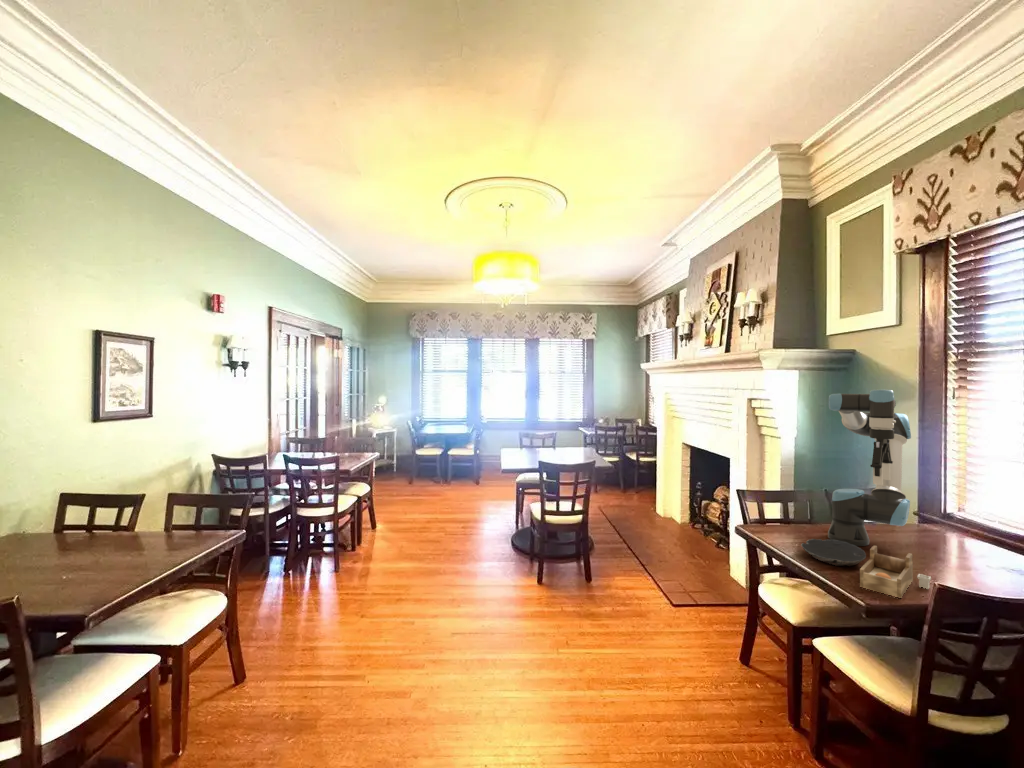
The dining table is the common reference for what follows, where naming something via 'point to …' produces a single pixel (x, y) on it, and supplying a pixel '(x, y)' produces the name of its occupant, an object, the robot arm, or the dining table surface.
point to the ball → (883, 575)
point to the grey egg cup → (924, 581)
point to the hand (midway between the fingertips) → (881, 481)
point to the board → (834, 552)
